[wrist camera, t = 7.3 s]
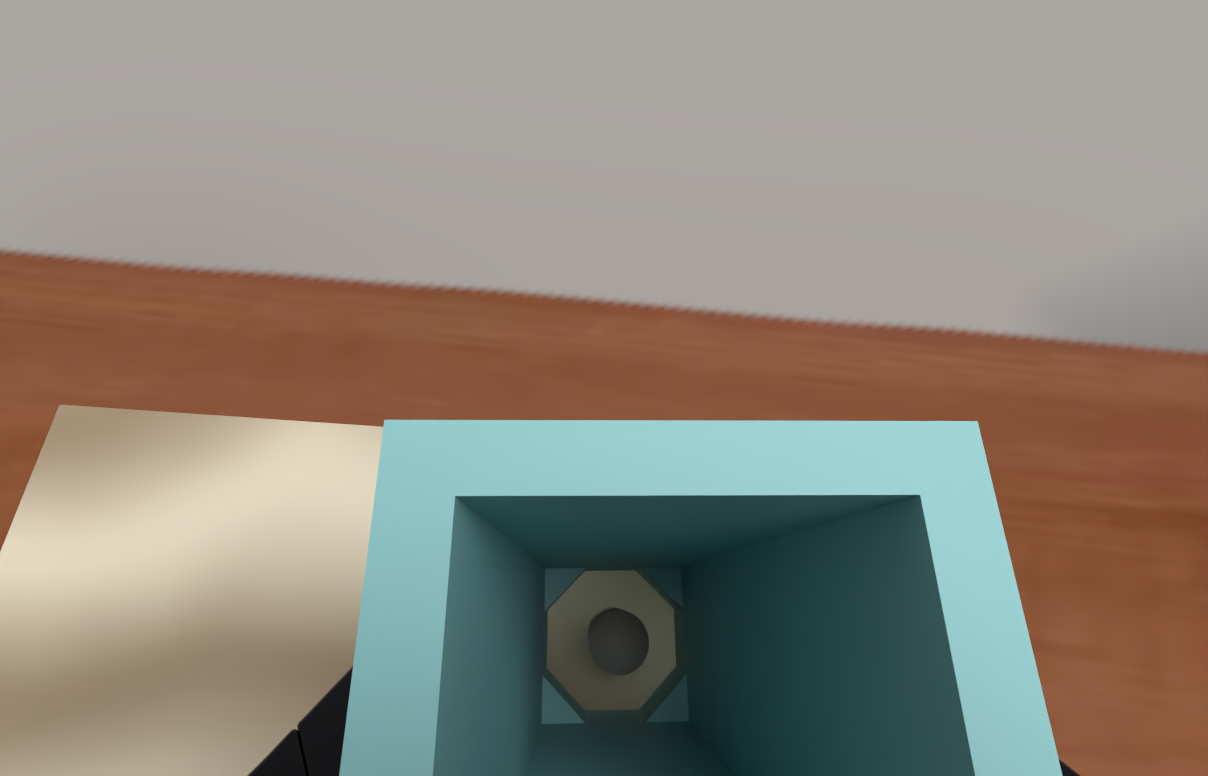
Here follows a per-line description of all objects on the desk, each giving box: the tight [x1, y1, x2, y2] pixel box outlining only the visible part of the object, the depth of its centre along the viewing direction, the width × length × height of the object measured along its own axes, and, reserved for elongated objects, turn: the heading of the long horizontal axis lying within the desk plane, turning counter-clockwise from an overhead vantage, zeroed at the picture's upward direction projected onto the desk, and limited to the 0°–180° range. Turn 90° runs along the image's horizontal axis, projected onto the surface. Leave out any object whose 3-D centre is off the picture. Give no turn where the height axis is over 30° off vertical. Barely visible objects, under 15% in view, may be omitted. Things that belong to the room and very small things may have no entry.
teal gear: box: [339, 420, 1063, 776], centre depth 8 cm, size 8×8×11 cm
